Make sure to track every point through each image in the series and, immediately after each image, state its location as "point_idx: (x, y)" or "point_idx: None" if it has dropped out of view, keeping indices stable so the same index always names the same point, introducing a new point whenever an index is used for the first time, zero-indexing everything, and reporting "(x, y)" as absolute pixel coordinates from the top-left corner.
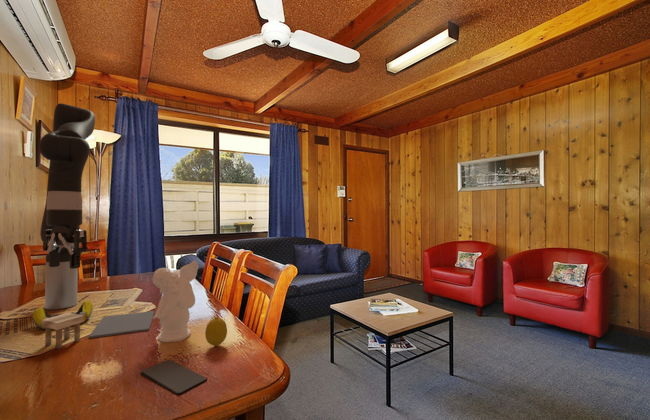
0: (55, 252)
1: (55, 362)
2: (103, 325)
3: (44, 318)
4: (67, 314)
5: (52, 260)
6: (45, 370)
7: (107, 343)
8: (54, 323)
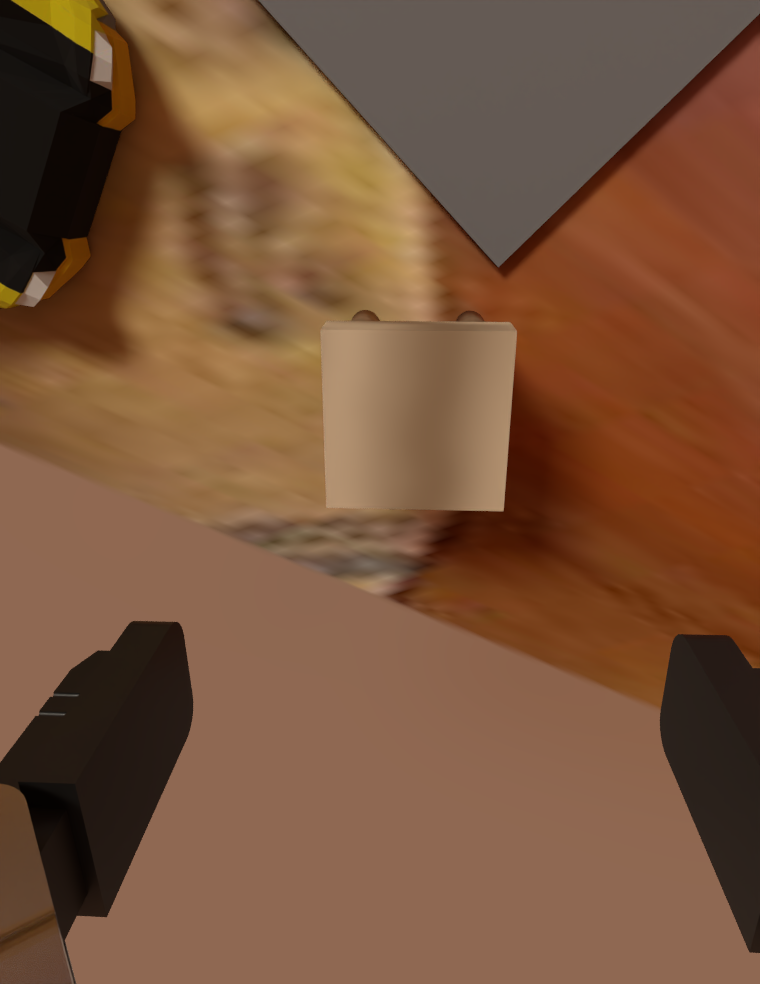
0: (63, 862)
1: (635, 533)
2: (385, 60)
3: (15, 301)
4: (362, 364)
5: (157, 780)
6: (671, 591)
7: (697, 273)
8: (472, 507)
